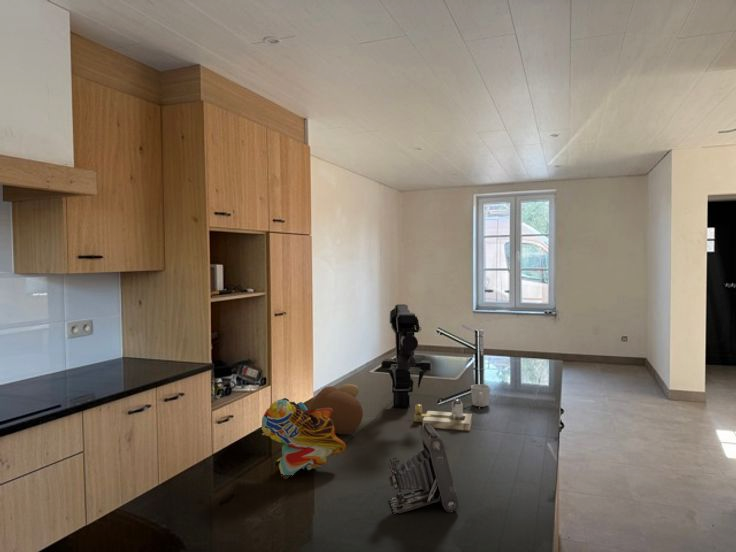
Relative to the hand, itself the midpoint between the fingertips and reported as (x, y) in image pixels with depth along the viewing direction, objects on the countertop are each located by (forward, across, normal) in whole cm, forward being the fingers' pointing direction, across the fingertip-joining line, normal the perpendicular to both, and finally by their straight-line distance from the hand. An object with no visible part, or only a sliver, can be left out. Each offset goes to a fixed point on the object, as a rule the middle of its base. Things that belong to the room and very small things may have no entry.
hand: (406, 386), depth 195 cm
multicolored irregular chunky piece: (+13, -22, -52) cm, 58 cm away
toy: (+13, -22, -20) cm, 32 cm away
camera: (+12, +15, -67) cm, 69 cm away
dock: (+13, +15, -1) cm, 20 cm away
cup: (+13, +27, +25) cm, 39 cm away
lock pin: (+13, +6, 0) cm, 14 cm away
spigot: (+13, +19, -1) cm, 23 cm away
